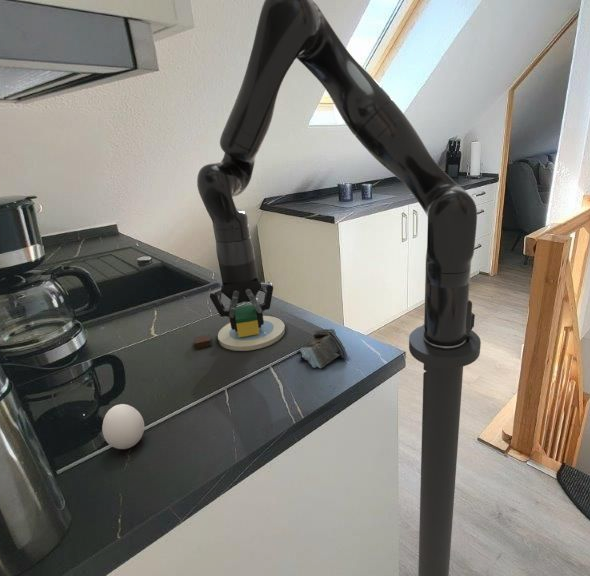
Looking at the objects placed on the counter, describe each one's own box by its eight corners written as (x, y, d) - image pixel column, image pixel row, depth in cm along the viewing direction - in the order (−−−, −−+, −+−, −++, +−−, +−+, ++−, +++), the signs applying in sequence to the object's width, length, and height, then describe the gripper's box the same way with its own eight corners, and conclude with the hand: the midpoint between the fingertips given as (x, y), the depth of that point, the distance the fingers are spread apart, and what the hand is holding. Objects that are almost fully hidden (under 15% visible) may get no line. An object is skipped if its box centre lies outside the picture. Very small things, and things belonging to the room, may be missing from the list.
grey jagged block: (288, 351, 88) (293, 335, 78) (314, 332, 92) (322, 315, 81) (315, 385, 87) (324, 373, 77) (340, 365, 91) (352, 351, 80)
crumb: (194, 337, 91) (195, 343, 92) (195, 343, 88) (196, 349, 89) (208, 334, 92) (209, 340, 93) (209, 340, 90) (210, 345, 90)
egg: (128, 461, 60) (114, 421, 57) (101, 453, 61) (86, 414, 58) (156, 436, 64) (145, 398, 61) (130, 430, 66) (118, 392, 63)
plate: (281, 315, 104) (280, 311, 103) (289, 343, 91) (288, 338, 90) (219, 325, 99) (218, 321, 99) (217, 356, 86) (216, 351, 86)
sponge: (237, 324, 96) (234, 307, 95) (257, 321, 98) (254, 304, 96) (238, 337, 90) (235, 319, 89) (259, 334, 92) (256, 316, 90)
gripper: (200, 268, 82) (215, 341, 88) (272, 259, 86) (281, 329, 93) (201, 257, 88) (216, 326, 95) (268, 249, 93) (277, 316, 99)
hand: (248, 327), depth 94 cm, fingers closed on sponge, 4 cm apart
